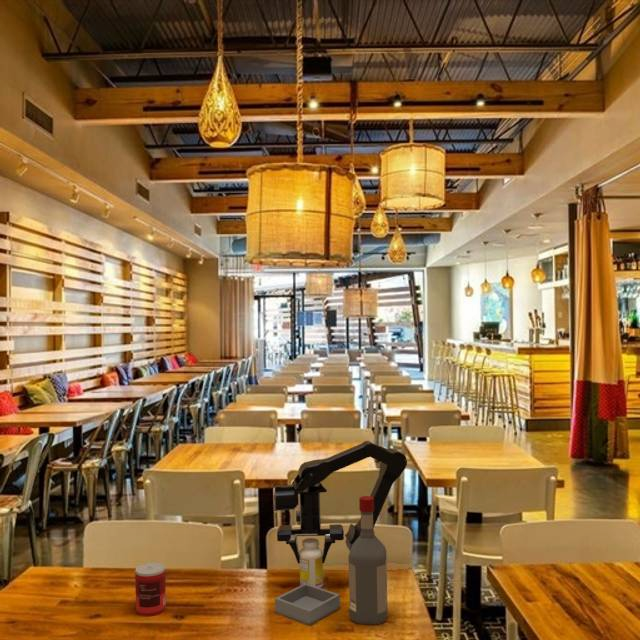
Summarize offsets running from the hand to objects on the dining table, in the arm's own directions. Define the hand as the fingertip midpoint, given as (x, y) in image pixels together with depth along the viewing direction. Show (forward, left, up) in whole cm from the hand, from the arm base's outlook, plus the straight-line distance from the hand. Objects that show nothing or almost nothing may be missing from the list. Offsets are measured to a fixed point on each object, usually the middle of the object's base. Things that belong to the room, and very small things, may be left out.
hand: (311, 562), depth 179 cm
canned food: (+37, -24, -7) cm, 45 cm away
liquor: (+5, +24, -7) cm, 25 cm away
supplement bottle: (0, 0, -7) cm, 7 cm away
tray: (+12, +9, -6) cm, 16 cm away
